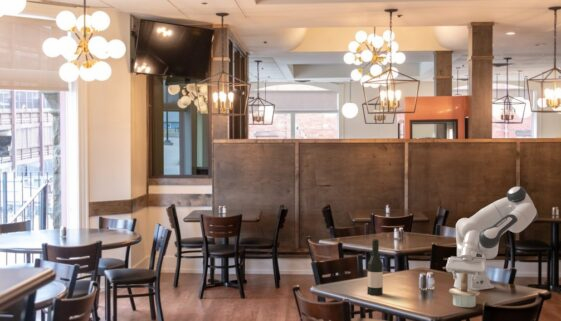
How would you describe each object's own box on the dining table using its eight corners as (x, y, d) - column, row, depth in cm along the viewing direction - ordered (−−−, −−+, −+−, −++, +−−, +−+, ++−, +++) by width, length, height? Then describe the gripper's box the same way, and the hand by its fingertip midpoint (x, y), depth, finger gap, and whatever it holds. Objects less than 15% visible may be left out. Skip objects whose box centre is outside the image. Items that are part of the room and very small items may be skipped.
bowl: (467, 301, 351) (467, 290, 351) (479, 306, 341) (479, 294, 341) (448, 302, 348) (448, 291, 348) (460, 307, 338) (460, 295, 338)
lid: (464, 288, 355) (464, 269, 354) (486, 294, 341) (486, 274, 341) (442, 291, 347) (442, 272, 347) (463, 297, 334) (464, 277, 334)
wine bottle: (365, 292, 372) (366, 237, 371) (380, 292, 373) (381, 237, 372) (369, 295, 364) (369, 239, 363) (384, 295, 364) (384, 239, 364)
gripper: (447, 252, 355) (442, 274, 347) (487, 255, 345) (483, 277, 337) (449, 259, 359) (444, 281, 351) (489, 262, 349) (485, 285, 341)
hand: (464, 279), depth 344 cm, fingers open, 8 cm apart
